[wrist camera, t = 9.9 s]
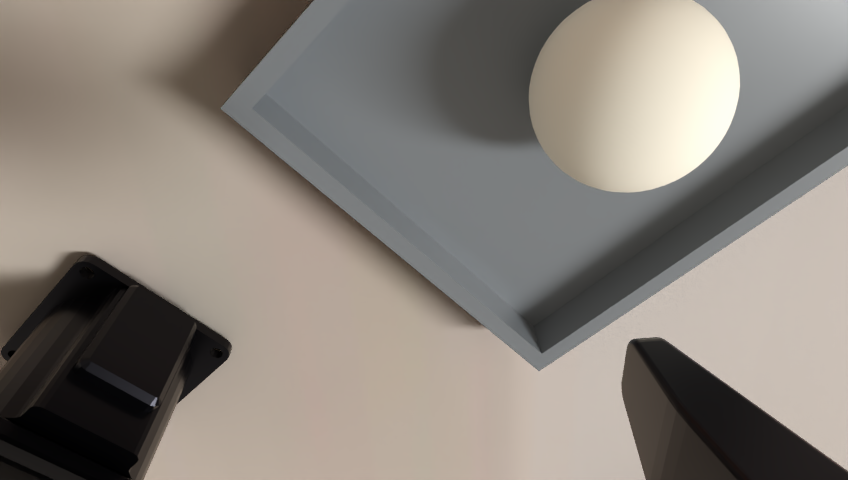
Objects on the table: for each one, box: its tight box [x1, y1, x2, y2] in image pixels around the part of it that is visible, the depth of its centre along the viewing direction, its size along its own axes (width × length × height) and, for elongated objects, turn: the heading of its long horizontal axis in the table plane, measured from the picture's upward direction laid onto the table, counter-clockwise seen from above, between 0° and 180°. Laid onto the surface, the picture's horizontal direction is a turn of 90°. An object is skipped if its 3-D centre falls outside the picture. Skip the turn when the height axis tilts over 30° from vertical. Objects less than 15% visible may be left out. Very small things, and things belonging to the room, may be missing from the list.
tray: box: [220, 0, 848, 371], centre depth 17 cm, size 16×14×2 cm
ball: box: [529, 0, 740, 193], centre depth 15 cm, size 5×5×5 cm
